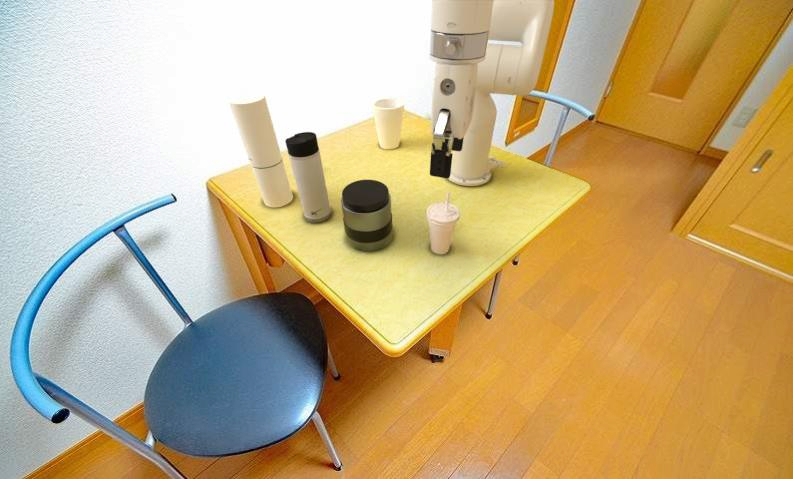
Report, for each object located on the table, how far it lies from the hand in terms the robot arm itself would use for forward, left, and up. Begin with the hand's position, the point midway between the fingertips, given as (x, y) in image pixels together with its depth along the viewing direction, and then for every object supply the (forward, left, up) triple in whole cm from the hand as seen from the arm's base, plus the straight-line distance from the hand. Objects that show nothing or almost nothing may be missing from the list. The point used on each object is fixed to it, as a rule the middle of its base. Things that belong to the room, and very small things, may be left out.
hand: (446, 162), depth 55 cm
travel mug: (+25, -17, -20) cm, 36 cm away
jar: (+14, -7, -20) cm, 25 cm away
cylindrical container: (+35, -26, -20) cm, 48 cm away
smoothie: (0, 0, -20) cm, 20 cm away
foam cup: (+2, -50, -20) cm, 54 cm away
